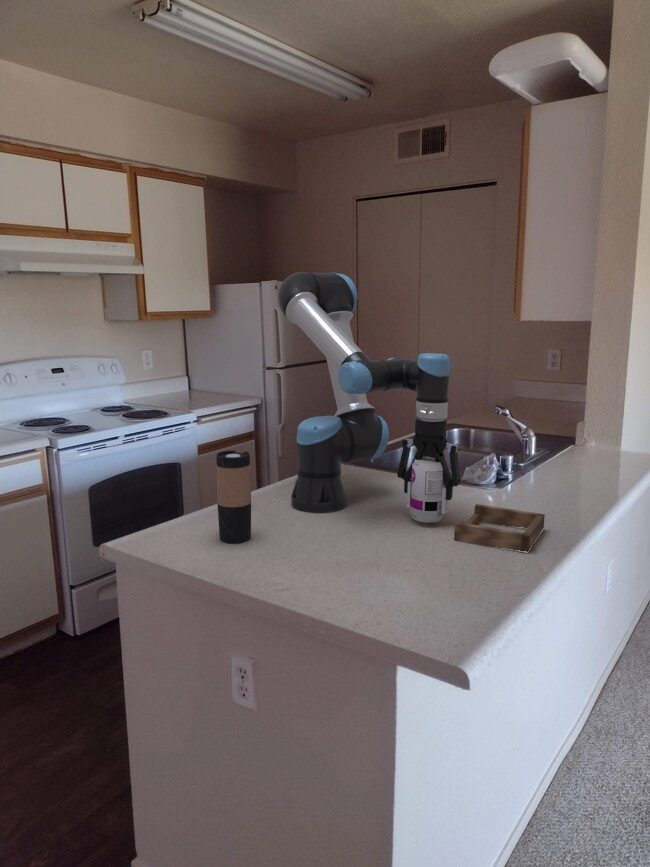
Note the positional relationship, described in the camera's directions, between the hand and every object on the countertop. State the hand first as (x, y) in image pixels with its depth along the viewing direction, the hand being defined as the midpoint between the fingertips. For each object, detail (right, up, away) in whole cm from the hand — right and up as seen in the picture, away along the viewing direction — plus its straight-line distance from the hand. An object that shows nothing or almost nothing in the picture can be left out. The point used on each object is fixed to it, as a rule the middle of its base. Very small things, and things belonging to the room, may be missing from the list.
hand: (427, 508), depth 159 cm
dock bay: (+16, -5, -8) cm, 18 cm away
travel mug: (-46, -6, -10) cm, 47 cm away
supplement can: (0, -2, +1) cm, 2 cm away
